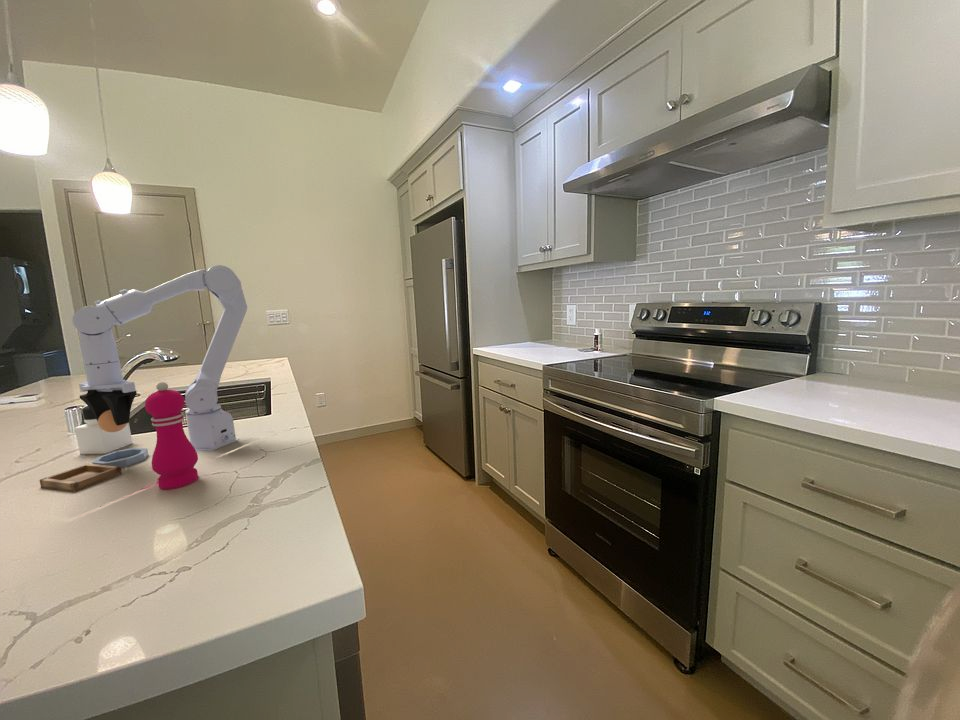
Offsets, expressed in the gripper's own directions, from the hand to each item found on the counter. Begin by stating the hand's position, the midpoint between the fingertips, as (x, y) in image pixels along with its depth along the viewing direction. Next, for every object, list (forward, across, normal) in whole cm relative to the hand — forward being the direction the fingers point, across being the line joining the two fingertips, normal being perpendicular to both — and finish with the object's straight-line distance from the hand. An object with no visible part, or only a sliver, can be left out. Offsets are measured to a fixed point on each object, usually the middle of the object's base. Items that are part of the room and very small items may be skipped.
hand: (114, 423), depth 91 cm
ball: (+2, 0, 0) cm, 2 cm away
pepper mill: (+10, +24, -5) cm, 26 cm away
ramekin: (+9, 0, 0) cm, 9 cm away
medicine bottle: (+10, -15, +6) cm, 19 cm away
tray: (+9, +3, -9) cm, 13 cm away
